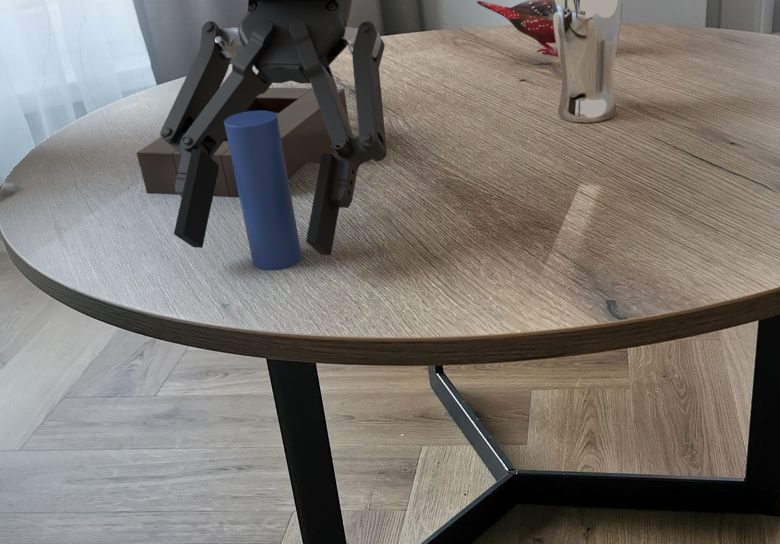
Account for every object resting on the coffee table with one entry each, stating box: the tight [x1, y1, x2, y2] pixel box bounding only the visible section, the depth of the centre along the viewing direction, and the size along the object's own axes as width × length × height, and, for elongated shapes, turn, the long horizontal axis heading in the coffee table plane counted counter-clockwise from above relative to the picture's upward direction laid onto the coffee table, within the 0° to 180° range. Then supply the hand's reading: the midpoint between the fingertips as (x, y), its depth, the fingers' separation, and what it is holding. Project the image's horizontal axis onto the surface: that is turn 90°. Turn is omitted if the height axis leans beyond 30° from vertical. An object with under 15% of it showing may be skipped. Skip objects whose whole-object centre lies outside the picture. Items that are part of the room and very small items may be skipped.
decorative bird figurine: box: [476, 0, 559, 57], centre depth 121 cm, size 3×18×10 cm, turn 63°
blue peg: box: [224, 111, 303, 271], centre depth 69 cm, size 4×4×12 cm
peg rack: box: [136, 87, 350, 198], centre depth 91 cm, size 12×20×5 cm, turn 167°
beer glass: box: [552, 0, 623, 124], centre depth 98 cm, size 7×7×15 cm
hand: (252, 244), depth 68 cm, fingers open, 9 cm apart
